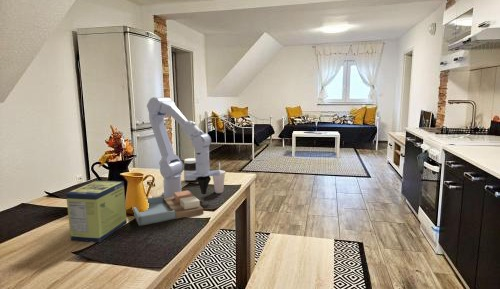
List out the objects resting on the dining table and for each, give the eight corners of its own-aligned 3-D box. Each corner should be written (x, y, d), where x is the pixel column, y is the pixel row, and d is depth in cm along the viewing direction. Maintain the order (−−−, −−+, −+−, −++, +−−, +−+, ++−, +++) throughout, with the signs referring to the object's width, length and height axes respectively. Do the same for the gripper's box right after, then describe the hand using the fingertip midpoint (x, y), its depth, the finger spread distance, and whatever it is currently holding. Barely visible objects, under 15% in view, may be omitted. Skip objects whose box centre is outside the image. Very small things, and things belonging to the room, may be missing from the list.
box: (130, 208, 127) (130, 201, 126) (163, 202, 133) (162, 195, 132) (139, 226, 109) (138, 217, 109) (175, 218, 115) (175, 211, 115)
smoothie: (223, 194, 143) (223, 164, 140) (210, 193, 144) (209, 163, 142) (227, 190, 149) (226, 161, 147) (214, 189, 150) (213, 160, 148)
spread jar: (185, 179, 170) (184, 157, 168) (206, 178, 171) (205, 157, 169) (182, 185, 158) (181, 162, 156) (205, 184, 159) (204, 161, 158)
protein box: (127, 223, 112) (124, 180, 110) (99, 243, 97) (95, 194, 94) (101, 221, 114) (97, 179, 111) (69, 241, 99) (64, 193, 96)
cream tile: (180, 204, 124) (180, 198, 124) (194, 202, 127) (194, 196, 127) (184, 209, 119) (184, 203, 119) (199, 206, 122) (199, 200, 121)
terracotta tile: (174, 198, 132) (174, 192, 132) (188, 195, 135) (188, 190, 134) (178, 202, 127) (177, 196, 126) (192, 199, 130) (192, 194, 129)
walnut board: (163, 202, 133) (163, 198, 132) (187, 198, 137) (187, 194, 137) (176, 218, 115) (175, 213, 115) (203, 213, 120) (203, 208, 120)
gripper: (188, 166, 126) (190, 199, 128) (222, 162, 132) (223, 193, 135) (183, 163, 132) (185, 194, 134) (215, 159, 139) (216, 189, 141)
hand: (203, 193), depth 135 cm, fingers closed
